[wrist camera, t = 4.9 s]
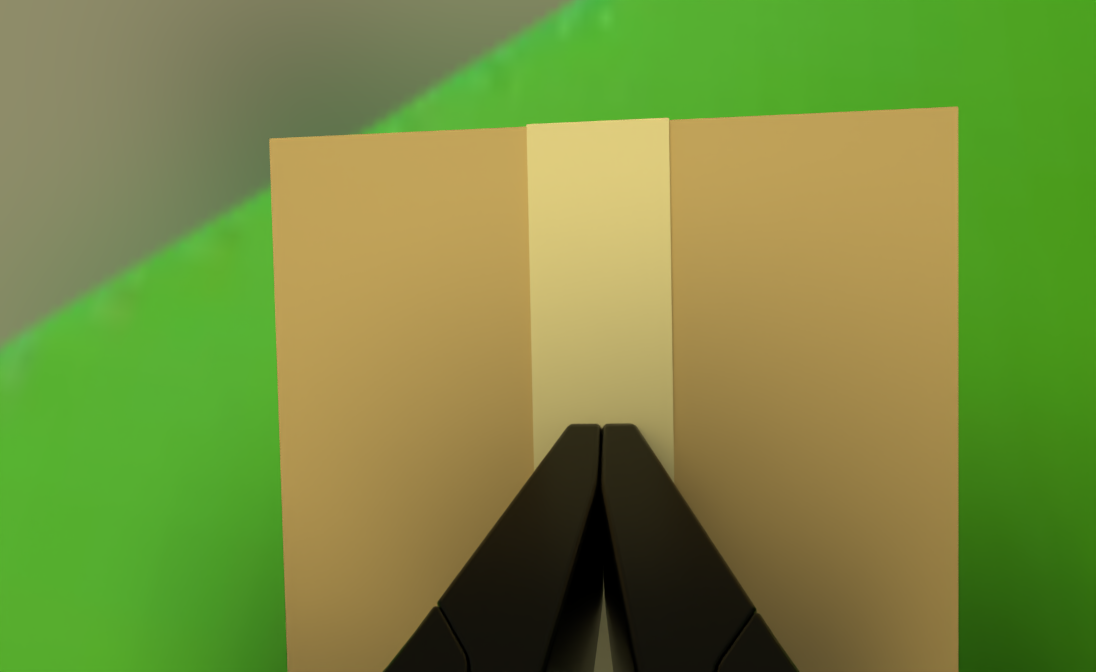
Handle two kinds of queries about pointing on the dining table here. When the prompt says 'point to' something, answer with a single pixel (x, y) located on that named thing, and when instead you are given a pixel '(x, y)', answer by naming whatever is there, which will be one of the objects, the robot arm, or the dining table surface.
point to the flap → (626, 361)
